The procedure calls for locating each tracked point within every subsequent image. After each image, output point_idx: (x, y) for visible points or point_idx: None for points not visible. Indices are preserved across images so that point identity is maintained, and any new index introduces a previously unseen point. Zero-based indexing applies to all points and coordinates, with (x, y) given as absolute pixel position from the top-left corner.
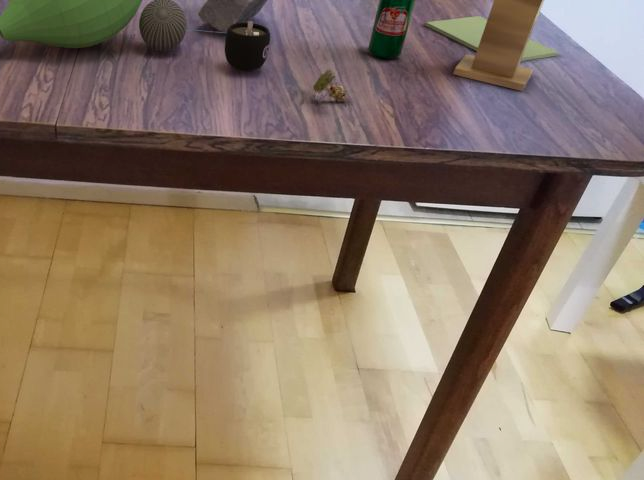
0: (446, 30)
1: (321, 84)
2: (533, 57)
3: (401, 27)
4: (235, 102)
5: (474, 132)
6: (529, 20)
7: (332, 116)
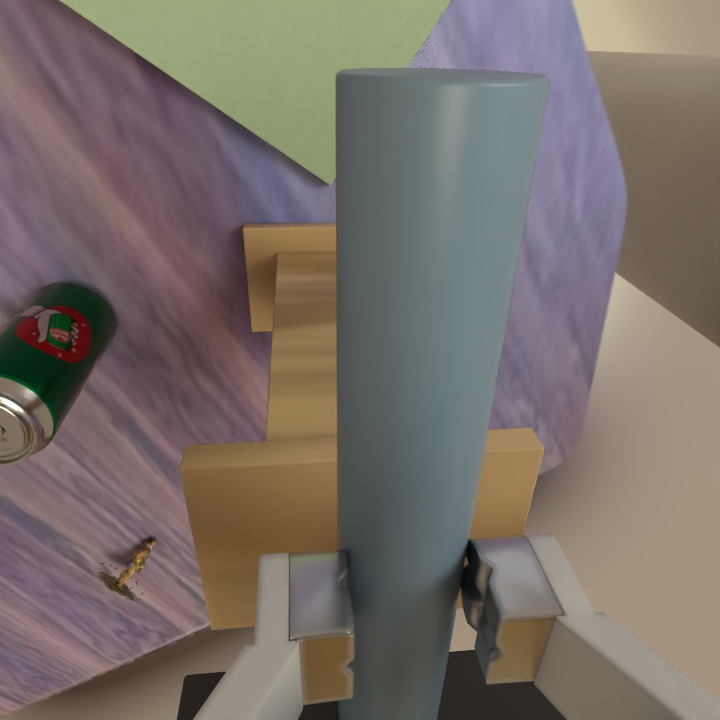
0: (106, 19)
1: (116, 583)
2: None
3: (90, 375)
4: (37, 616)
5: None
6: None
7: (168, 577)
